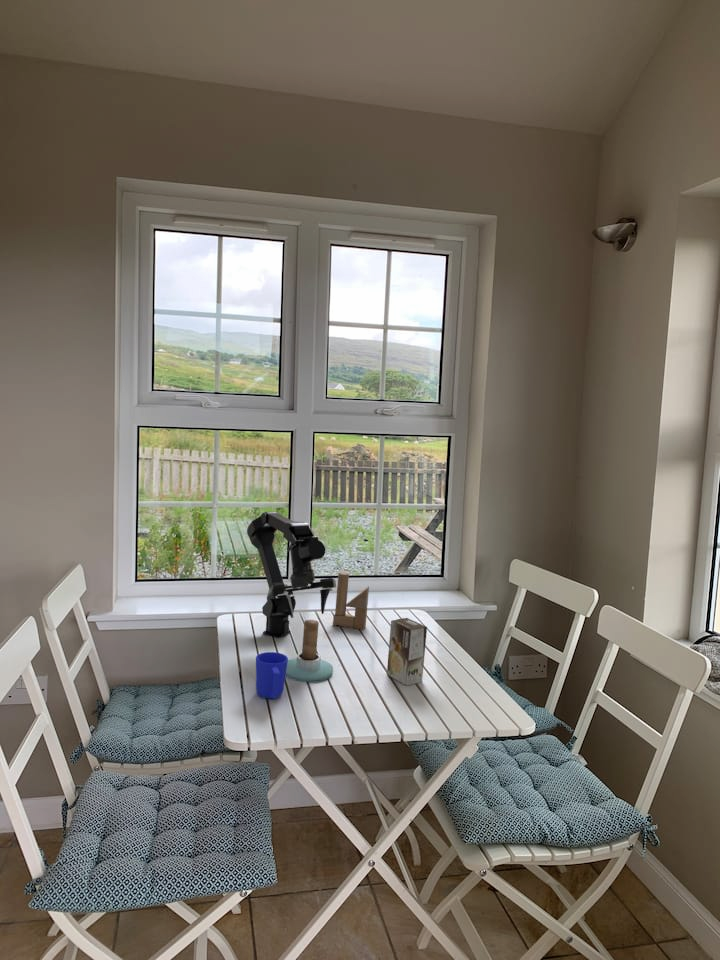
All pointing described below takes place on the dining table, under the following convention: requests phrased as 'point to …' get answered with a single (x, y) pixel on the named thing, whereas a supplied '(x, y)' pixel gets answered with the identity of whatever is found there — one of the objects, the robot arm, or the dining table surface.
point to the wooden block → (350, 605)
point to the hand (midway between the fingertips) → (307, 615)
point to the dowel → (310, 639)
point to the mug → (270, 674)
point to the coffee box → (406, 651)
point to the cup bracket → (308, 669)
